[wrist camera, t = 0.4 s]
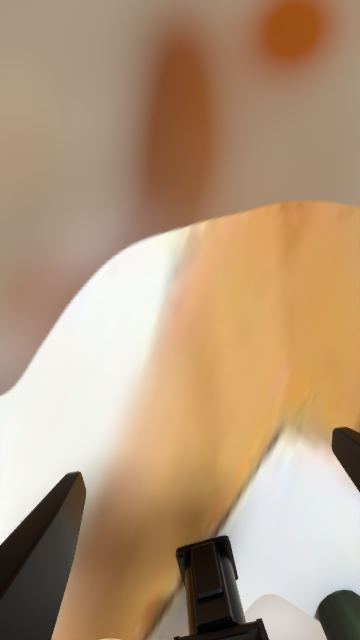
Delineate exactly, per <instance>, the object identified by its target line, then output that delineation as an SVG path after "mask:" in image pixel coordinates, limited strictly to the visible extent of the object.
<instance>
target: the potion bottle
mask: <svg viewBox="0 0 360 640" xmlns="http://www.w3.org/2000/svg"><path fill="white" fill-rule="evenodd" d="M319 620H320V623H321V625H322V627H323V630H324V632H325V635H326V637H327V640H360V596H359V595H357V594H356V593H354V592H353V591H349V590H341V591H336V592H334V593H332V594H331V595H329V596H327V597H326V598H325V599H324V600H323V601H322V603H321V606H320V608H319Z"/></svg>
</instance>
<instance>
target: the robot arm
mask: <svg viewBox="0 0 360 640" xmlns="http://www.w3.org/2000/svg"><path fill="white" fill-rule="evenodd" d="M332 450H333V452H334V454H335V456H336V457H337V459H338V460H339V462H340V463H341V465H342V466H343V468H344V469H345V471H346V472H347V474H348V475H349V477H350V478H351V480H352V481H353V483H354V484H355V486H356V487H357V489H358V490H359V492H360V433H359V432H357V431H355V430H352V429H350V428H348V427H339V428H335V429H334V430H333V434H332ZM85 499H86V488H85V484H84V481H83V477H82V474H81V472H79V471H77V472H71V473H67V474H66V475H65V476H64V477H63V478H62V479H61V480H60V481H59V482H58V483H57V485H56V486H55V487H54V488H53V489H52V490H51V491H50V492H49V493H48V494H47V495H46V496H45V498H44V499H43V500H42V501H41V502H40V503H39V504H38V505H37V506H36V507H35V508H34V509H33V510H32V512H31V513H30V514H29V515H28V516H27V517H26V518H25V519H24V520H23V521H22V522H21V523H20V524H19V526H18V527H17V528H16V529H15V530H14V531H13V532H12V533H11V534H10V535H9V536H8V537H7V538H6V540H5V541H4V542H3V543H2V544H1V545H0V640H51V638H52V634H53V631H54V627H55V624H56V620H57V616H58V613H59V609H60V606H61V602H62V599H63V595H64V592H65V588H66V584H67V581H68V577H69V574H70V570H71V566H72V563H73V559H74V554H75V550H76V545H77V540H78V535H79V530H80V525H81V520H82V514H83V509H84V504H85ZM176 553H177V560H178V563H179V567H180V570H181V574H182V577H183V581H184V584H185V588H186V598H187V611H188V625H189V636H184V637H180V636H177V637H174V640H269V638H268V635H267V633H266V630H265V627H264V624H263V621H262V619H261V618H260V619H256V621H254V622H249V623H246V621H245V616H244V612H243V608H242V604H241V600H240V596H239V592H238V588H237V584H236V580H237V579H238V575H237V571H236V566H235V562H234V558H233V553H232V549H231V544H230V540H229V537H228V536H223V537H219V538H216V539H212V540H209V541H205V542H201V543H198V544H194V545H190V546H187V547H183V548H180V549H178V550H177V551H176Z"/></svg>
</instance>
